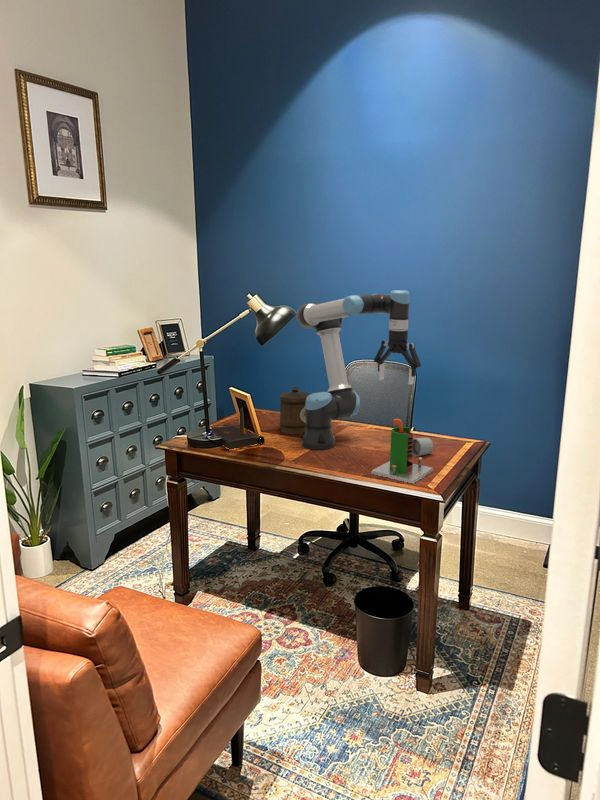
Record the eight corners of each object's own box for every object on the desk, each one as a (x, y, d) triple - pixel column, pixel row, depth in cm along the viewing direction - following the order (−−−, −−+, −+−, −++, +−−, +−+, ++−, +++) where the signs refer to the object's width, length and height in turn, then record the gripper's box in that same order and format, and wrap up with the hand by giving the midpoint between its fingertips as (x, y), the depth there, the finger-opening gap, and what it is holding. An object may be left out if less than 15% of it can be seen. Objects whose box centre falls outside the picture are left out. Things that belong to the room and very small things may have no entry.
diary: (239, 433, 296) (239, 423, 294) (264, 446, 275) (264, 435, 274) (204, 439, 286) (204, 428, 284) (228, 452, 265) (227, 441, 264)
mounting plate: (371, 474, 236) (371, 461, 235) (392, 462, 249) (392, 450, 248) (413, 483, 225) (414, 471, 224) (432, 471, 239) (433, 459, 237)
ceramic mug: (434, 455, 258) (435, 437, 257) (420, 458, 254) (421, 440, 253) (417, 449, 267) (418, 432, 266) (403, 452, 263) (404, 435, 261)
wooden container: (309, 435, 290) (309, 390, 285) (278, 434, 291) (278, 389, 286) (311, 426, 304) (311, 383, 299) (281, 426, 305) (281, 383, 300)
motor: (414, 473, 232) (416, 423, 228) (391, 473, 232) (392, 423, 228) (410, 464, 242) (412, 416, 238) (388, 464, 242) (389, 416, 238)
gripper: (366, 328, 245) (365, 379, 250) (422, 333, 230) (419, 387, 236) (376, 326, 251) (374, 376, 256) (431, 331, 236) (428, 384, 241)
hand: (396, 381), depth 246 cm, fingers open, 13 cm apart
